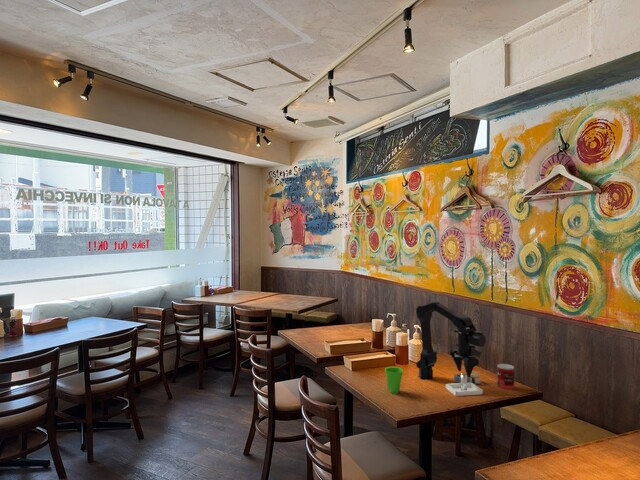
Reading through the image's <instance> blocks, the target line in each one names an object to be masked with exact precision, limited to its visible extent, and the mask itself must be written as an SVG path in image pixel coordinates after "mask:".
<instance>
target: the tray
mask: <svg viewBox="0 0 640 480" xmlns="http://www.w3.org/2000/svg"><path fill="white" fill-rule="evenodd" d="M445 389H447V390H448V391H449V392H450V393H451V394H452V395H454V396H456V397H459V396H461V397H463V396H475V395H476V396H479V395H480V396H481V395H484V390H483V389H482V388H481V387H479V386H478V385H475V384H473V383H472V382H470V383H467V390H466V391H461V383H456V382H454V383H452V382H451V383H445Z"/></svg>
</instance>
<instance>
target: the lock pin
mask: <svg viewBox="0 0 640 480" xmlns="http://www.w3.org/2000/svg"><path fill="white" fill-rule="evenodd" d="M460 374H461V391H466V390H467V374H466V372H460Z"/></svg>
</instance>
